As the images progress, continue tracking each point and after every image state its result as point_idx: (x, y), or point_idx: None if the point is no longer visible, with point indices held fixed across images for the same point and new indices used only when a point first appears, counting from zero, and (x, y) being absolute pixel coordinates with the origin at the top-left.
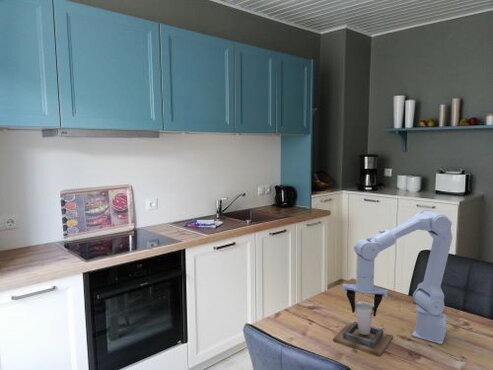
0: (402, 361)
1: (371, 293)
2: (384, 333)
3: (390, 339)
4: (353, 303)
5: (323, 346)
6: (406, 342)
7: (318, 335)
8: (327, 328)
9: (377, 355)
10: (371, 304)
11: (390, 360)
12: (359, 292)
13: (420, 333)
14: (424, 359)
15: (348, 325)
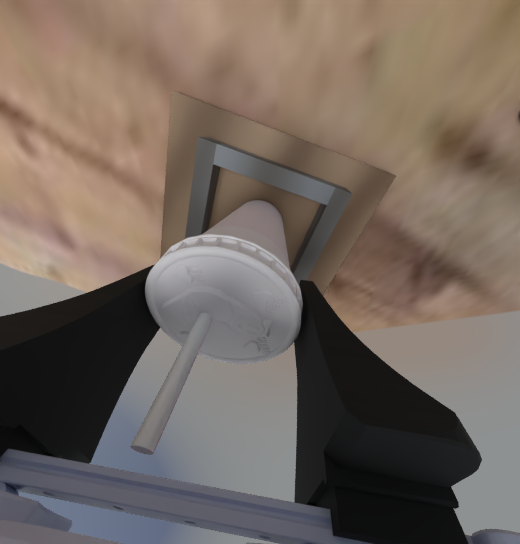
0: (371, 316)
1: (264, 527)
2: (356, 167)
3: (370, 215)
4: (136, 363)
5: None
6: (444, 196)
7: (108, 237)
8: (108, 171)
9: None
10: (282, 293)
11: None
12: (98, 475)
13: None
14: (453, 295)
15: (180, 134)
